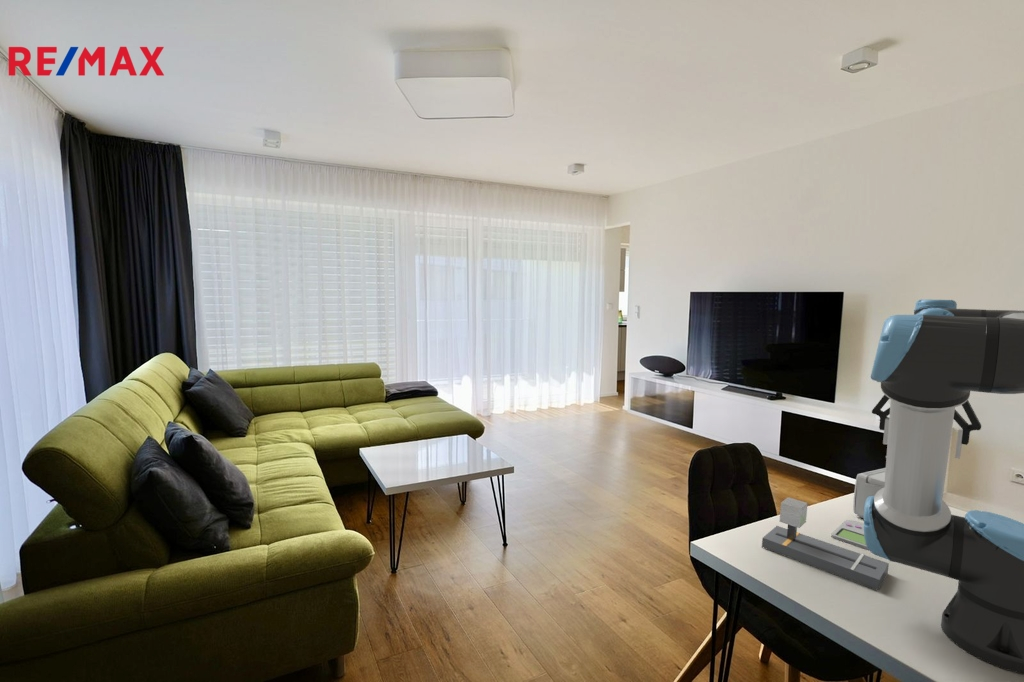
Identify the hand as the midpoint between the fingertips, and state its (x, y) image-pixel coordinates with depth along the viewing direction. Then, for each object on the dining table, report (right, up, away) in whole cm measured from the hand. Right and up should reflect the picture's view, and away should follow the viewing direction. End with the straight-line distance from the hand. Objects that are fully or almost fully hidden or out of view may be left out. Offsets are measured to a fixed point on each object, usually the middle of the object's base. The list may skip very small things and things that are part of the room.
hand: (920, 450), depth 119 cm
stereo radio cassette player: (+11, -25, +25) cm, 37 cm away
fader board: (-25, -26, -1) cm, 36 cm away
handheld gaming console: (-6, -26, +12) cm, 30 cm away
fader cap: (-29, -23, +4) cm, 37 cm away
